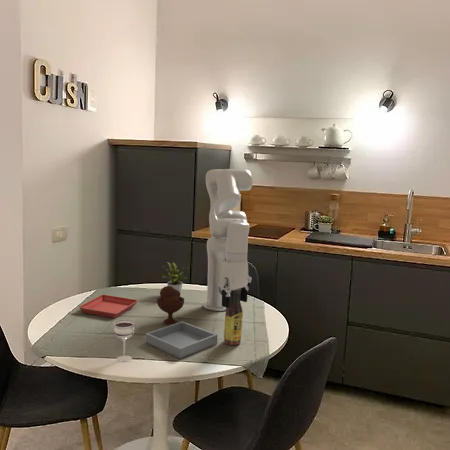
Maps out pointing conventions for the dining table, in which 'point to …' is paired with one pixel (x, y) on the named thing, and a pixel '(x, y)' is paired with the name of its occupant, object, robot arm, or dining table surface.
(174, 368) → the dining table surface
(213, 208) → the robot arm
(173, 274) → the house plant
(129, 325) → the wineglass
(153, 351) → the dining table surface
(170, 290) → the ice cream bowl
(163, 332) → the parts tray
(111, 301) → the red square tray
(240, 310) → the sauce bottle
